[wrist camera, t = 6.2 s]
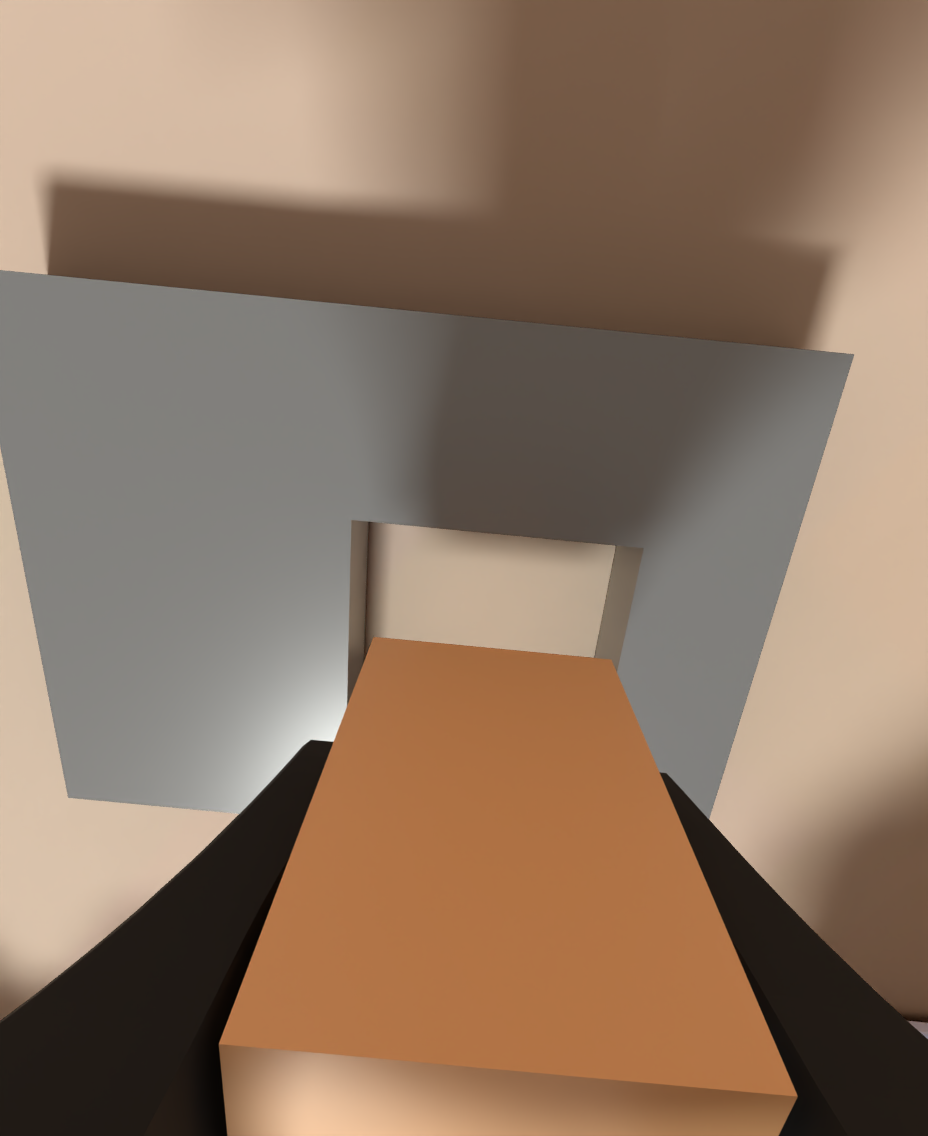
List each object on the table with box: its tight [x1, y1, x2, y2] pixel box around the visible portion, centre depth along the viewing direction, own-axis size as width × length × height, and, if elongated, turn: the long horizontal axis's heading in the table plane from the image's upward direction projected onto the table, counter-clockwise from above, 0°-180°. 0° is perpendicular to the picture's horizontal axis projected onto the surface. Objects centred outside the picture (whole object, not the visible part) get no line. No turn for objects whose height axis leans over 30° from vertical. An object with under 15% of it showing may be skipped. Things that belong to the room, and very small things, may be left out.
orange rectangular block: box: [219, 637, 798, 1136], centre depth 7 cm, size 4×4×6 cm
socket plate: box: [0, 270, 854, 819], centre depth 13 cm, size 16×12×2 cm
